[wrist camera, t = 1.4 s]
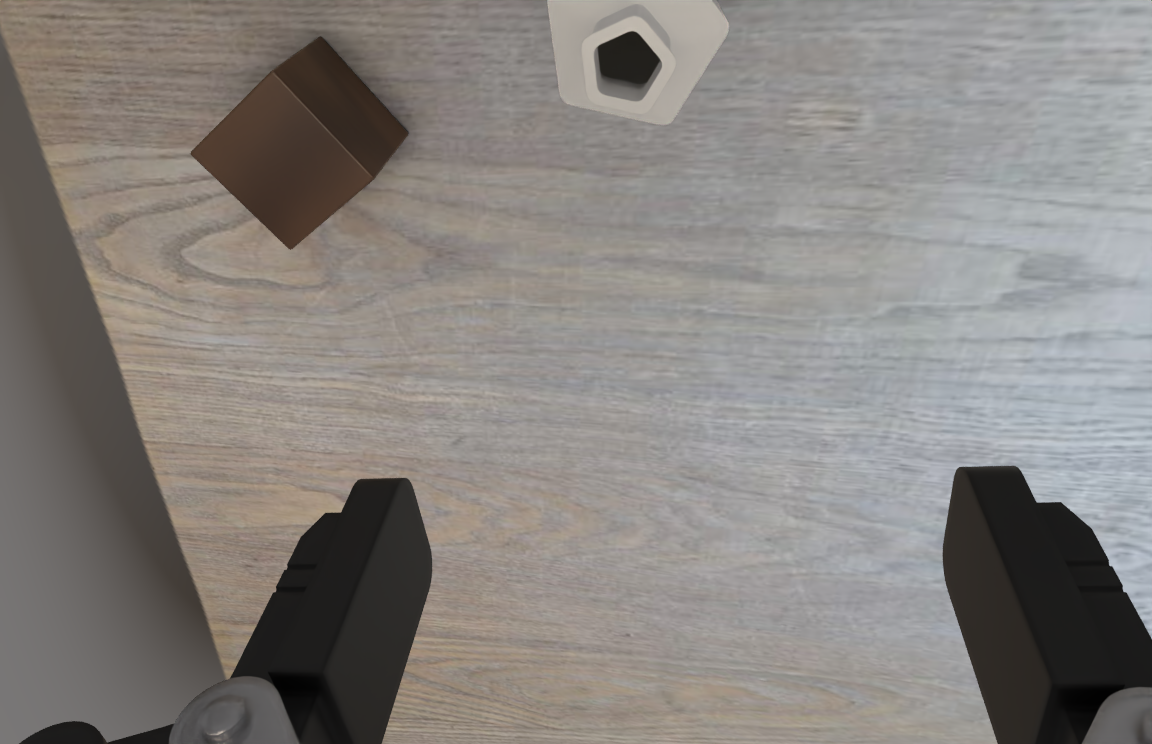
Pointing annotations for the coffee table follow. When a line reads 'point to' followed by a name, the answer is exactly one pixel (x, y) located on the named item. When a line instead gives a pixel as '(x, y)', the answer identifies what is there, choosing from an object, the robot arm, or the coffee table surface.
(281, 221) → the walnut block
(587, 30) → the perfume bottle
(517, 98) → the coffee table surface
